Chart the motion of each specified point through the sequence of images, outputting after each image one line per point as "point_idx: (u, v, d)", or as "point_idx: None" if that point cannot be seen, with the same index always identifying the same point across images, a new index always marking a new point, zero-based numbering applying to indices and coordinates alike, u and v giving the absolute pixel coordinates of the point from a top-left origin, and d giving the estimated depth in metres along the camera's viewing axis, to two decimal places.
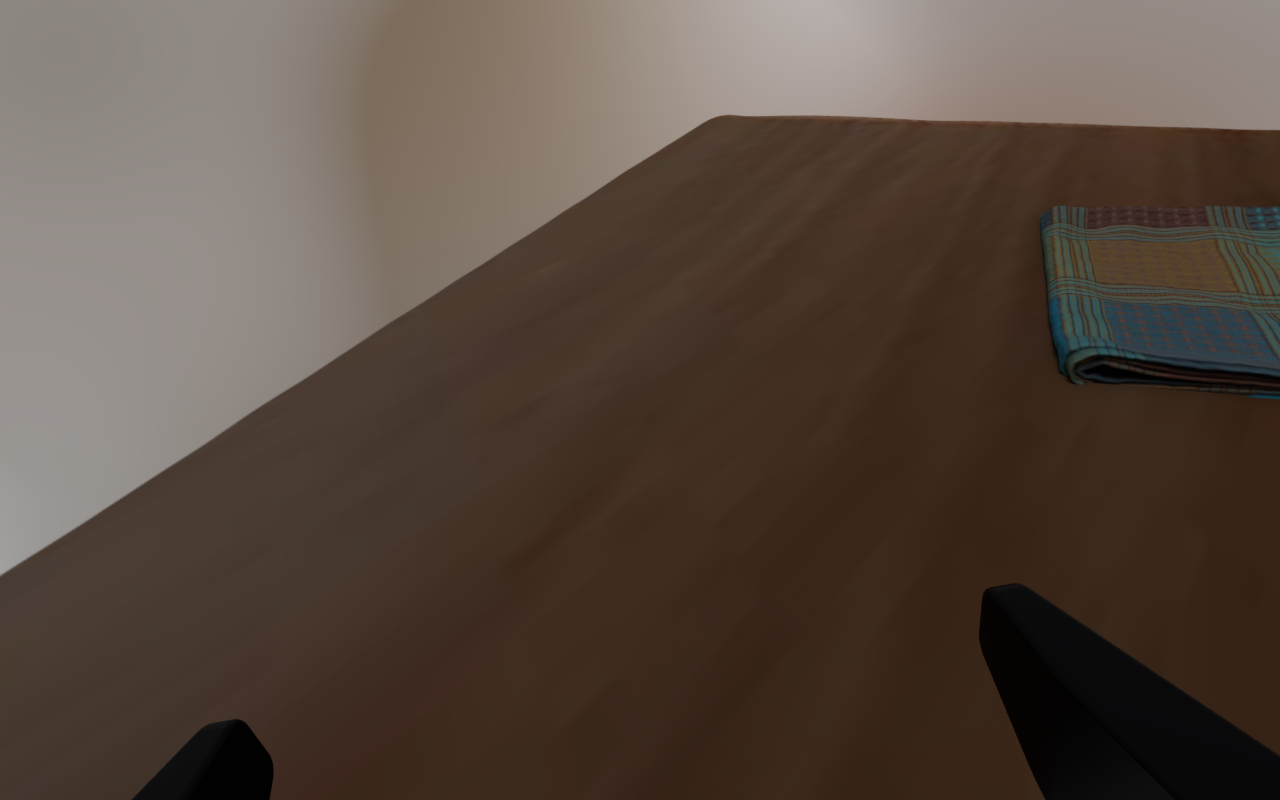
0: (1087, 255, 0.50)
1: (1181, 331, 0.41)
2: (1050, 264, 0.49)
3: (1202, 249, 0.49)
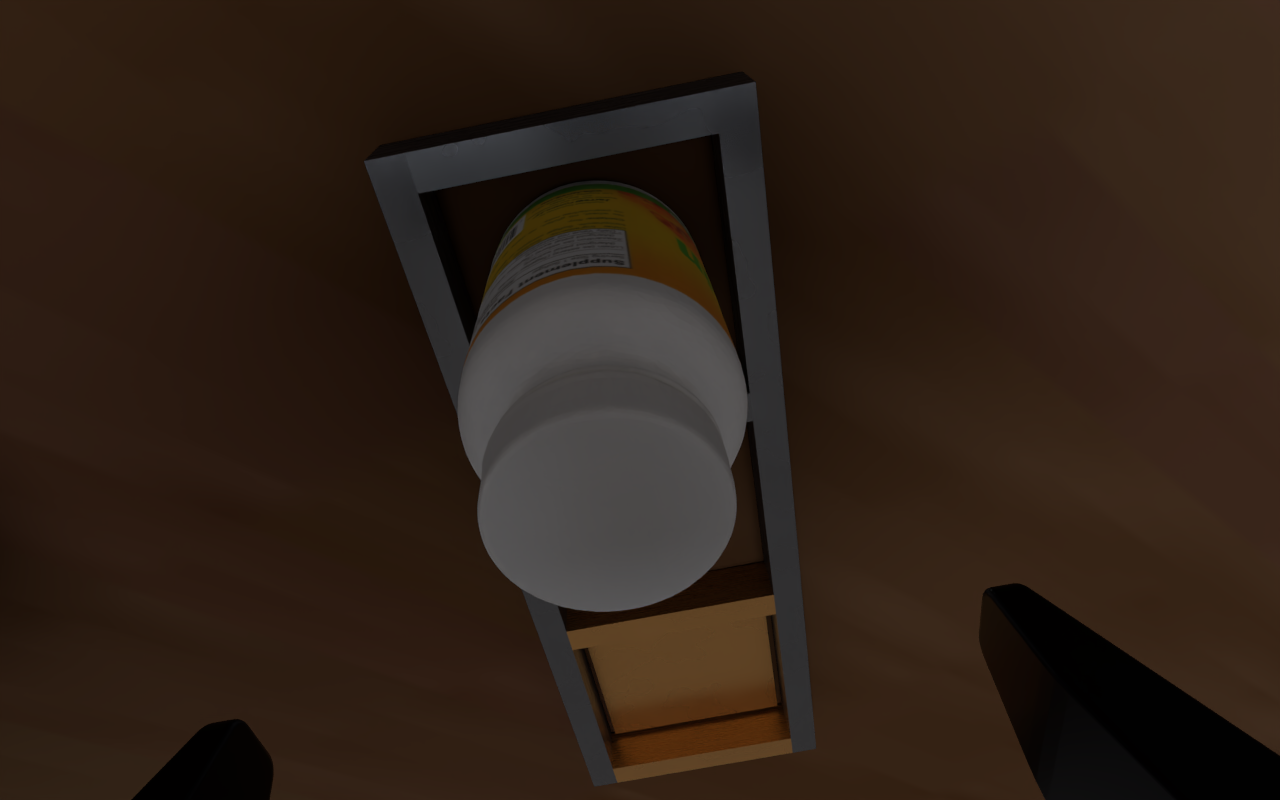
0: None
1: None
2: None
3: None
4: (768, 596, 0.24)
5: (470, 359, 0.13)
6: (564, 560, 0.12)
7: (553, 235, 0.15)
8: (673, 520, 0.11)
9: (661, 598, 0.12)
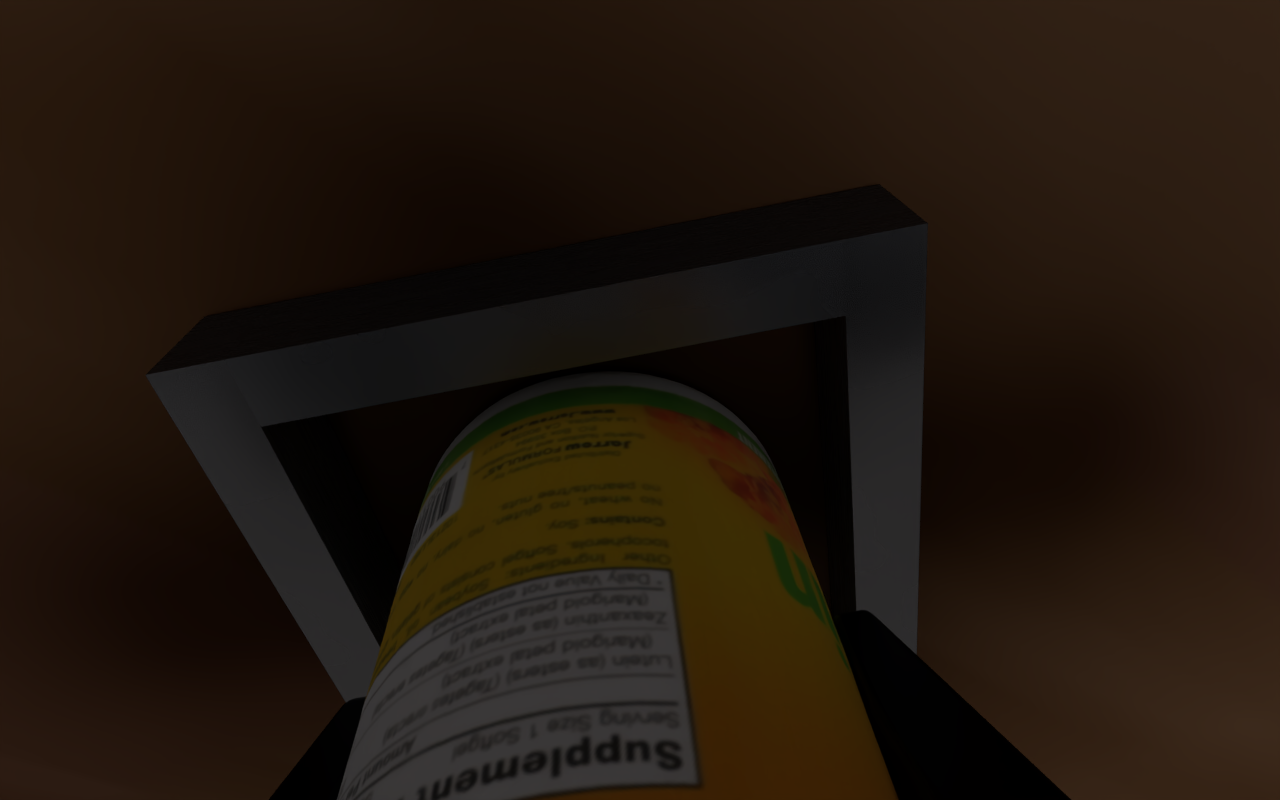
0: None
1: None
2: None
3: None
4: None
5: None
6: None
7: (514, 577, 0.07)
8: None
9: None
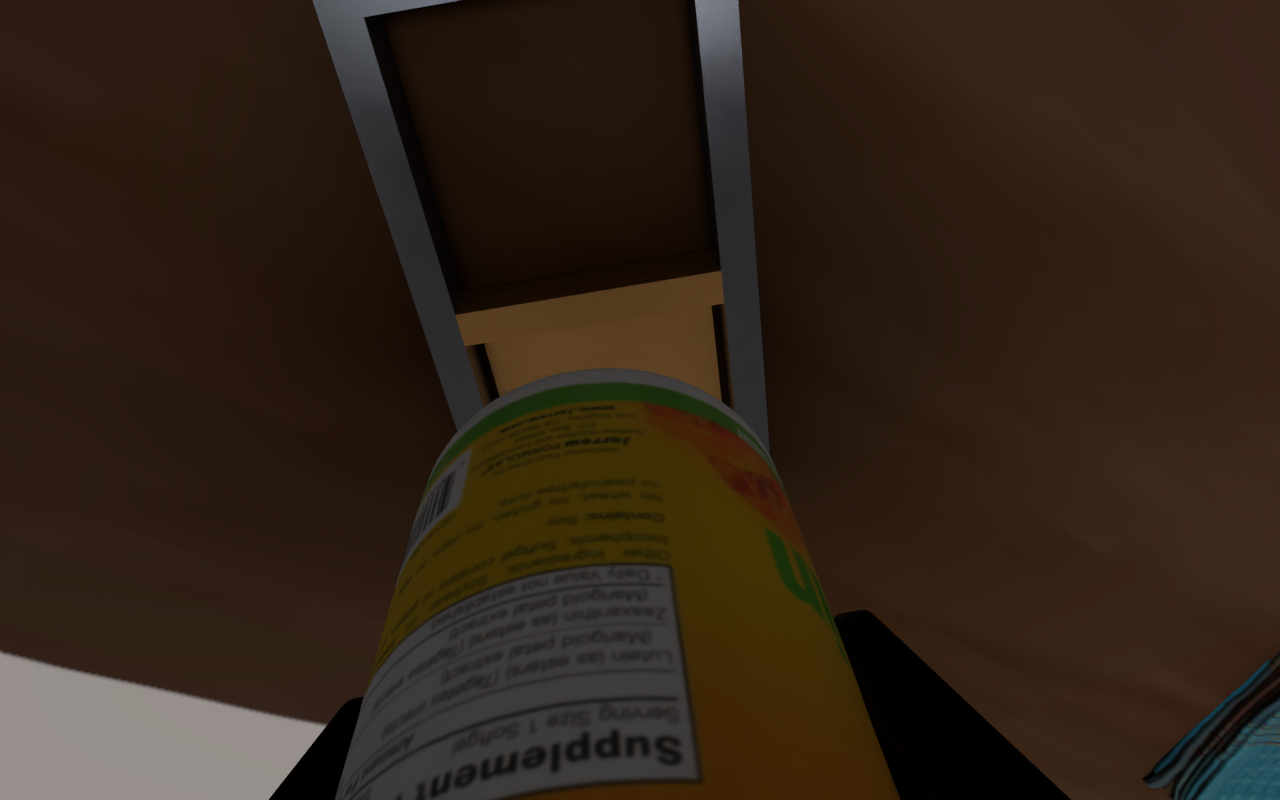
0: None
1: None
2: None
3: None
4: (714, 274, 0.19)
5: None
6: None
7: (514, 574, 0.07)
8: None
9: None
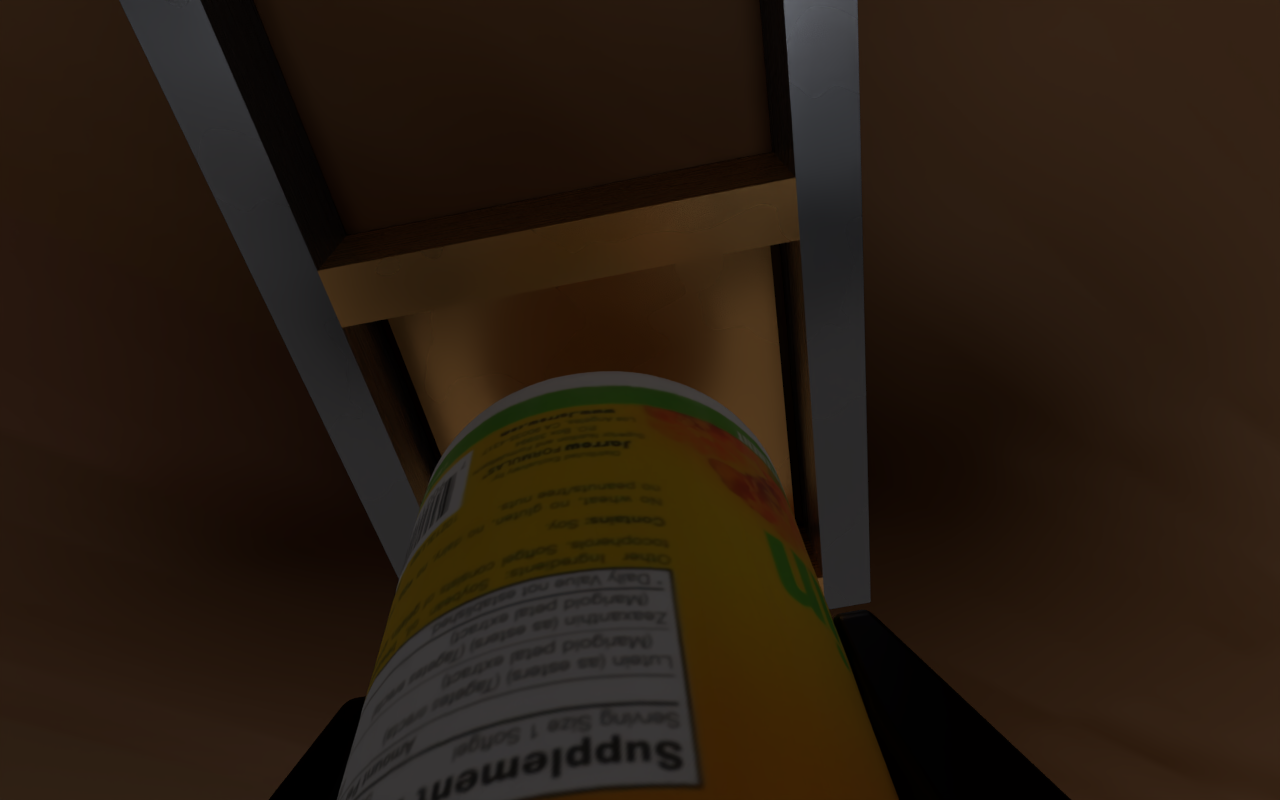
0: None
1: None
2: None
3: None
4: (783, 184, 0.10)
5: None
6: None
7: (515, 578, 0.07)
8: None
9: None
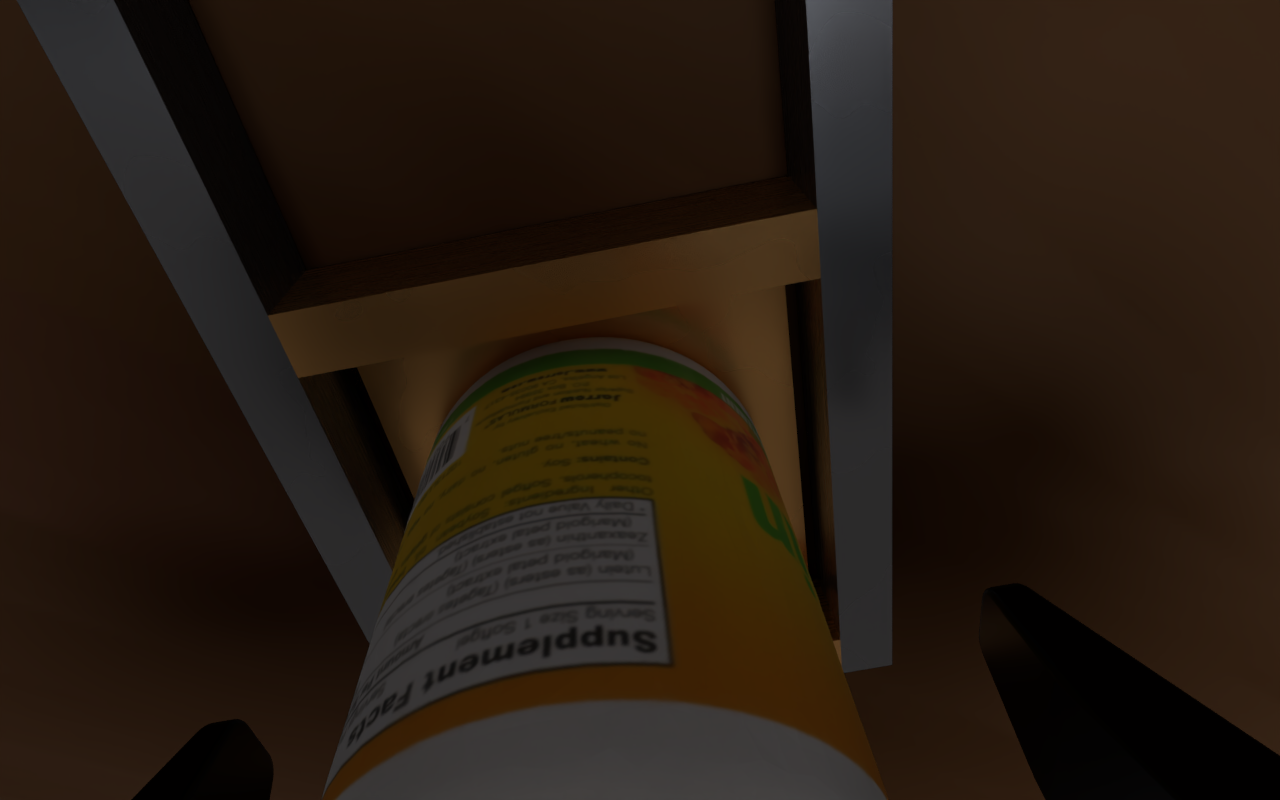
0: None
1: None
2: None
3: None
4: (802, 216, 0.09)
5: None
6: None
7: (513, 506, 0.08)
8: None
9: None
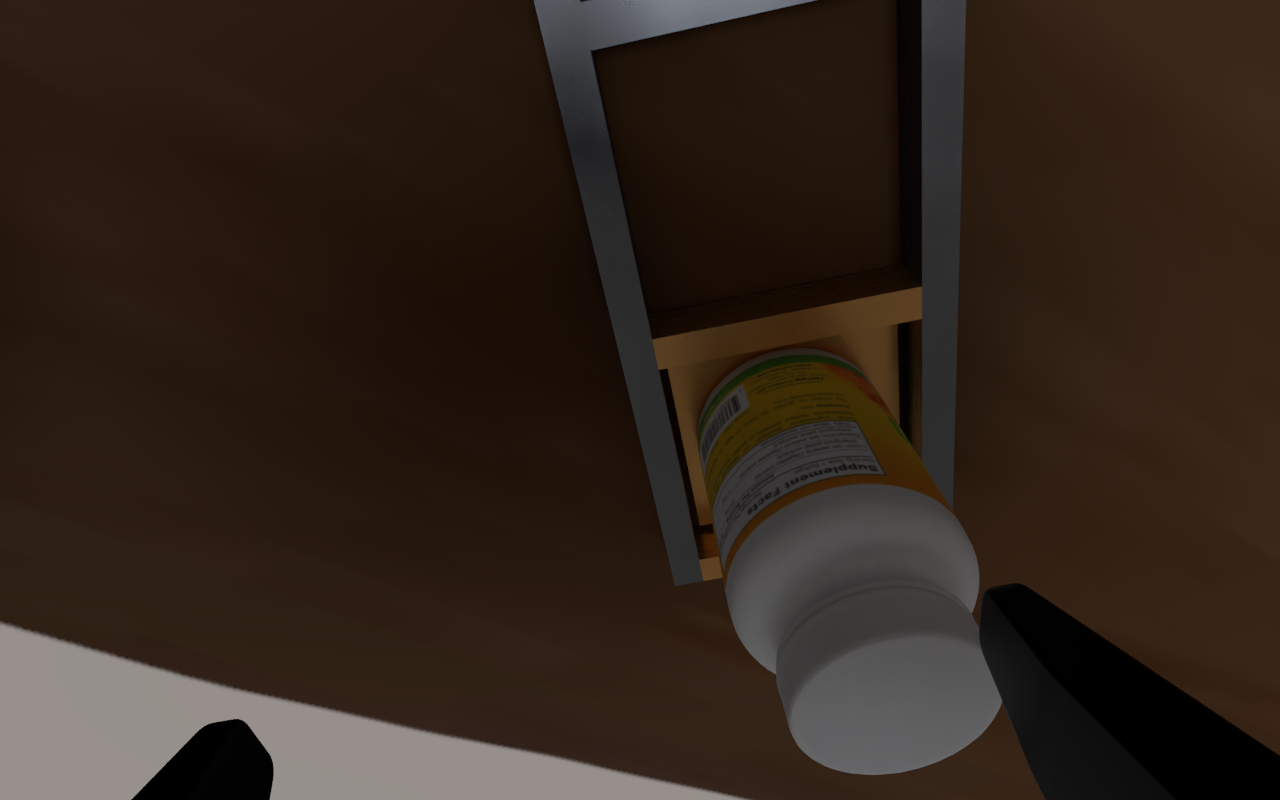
0: None
1: None
2: None
3: None
4: (914, 290, 0.19)
5: (752, 553, 0.15)
6: (853, 738, 0.14)
7: (794, 425, 0.17)
8: (949, 710, 0.14)
9: (924, 765, 0.15)
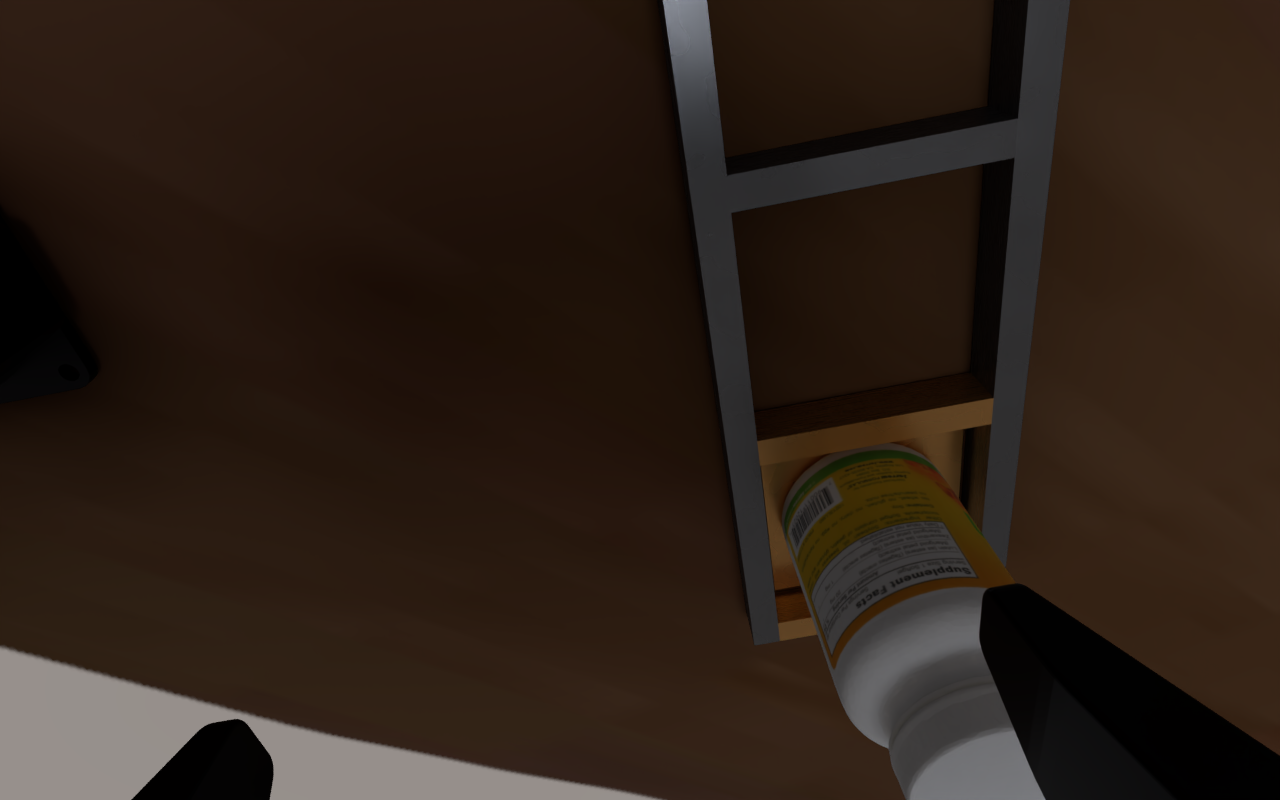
0: None
1: None
2: None
3: None
4: (986, 400, 0.21)
5: (866, 645, 0.18)
6: None
7: (889, 524, 0.20)
8: None
9: None
